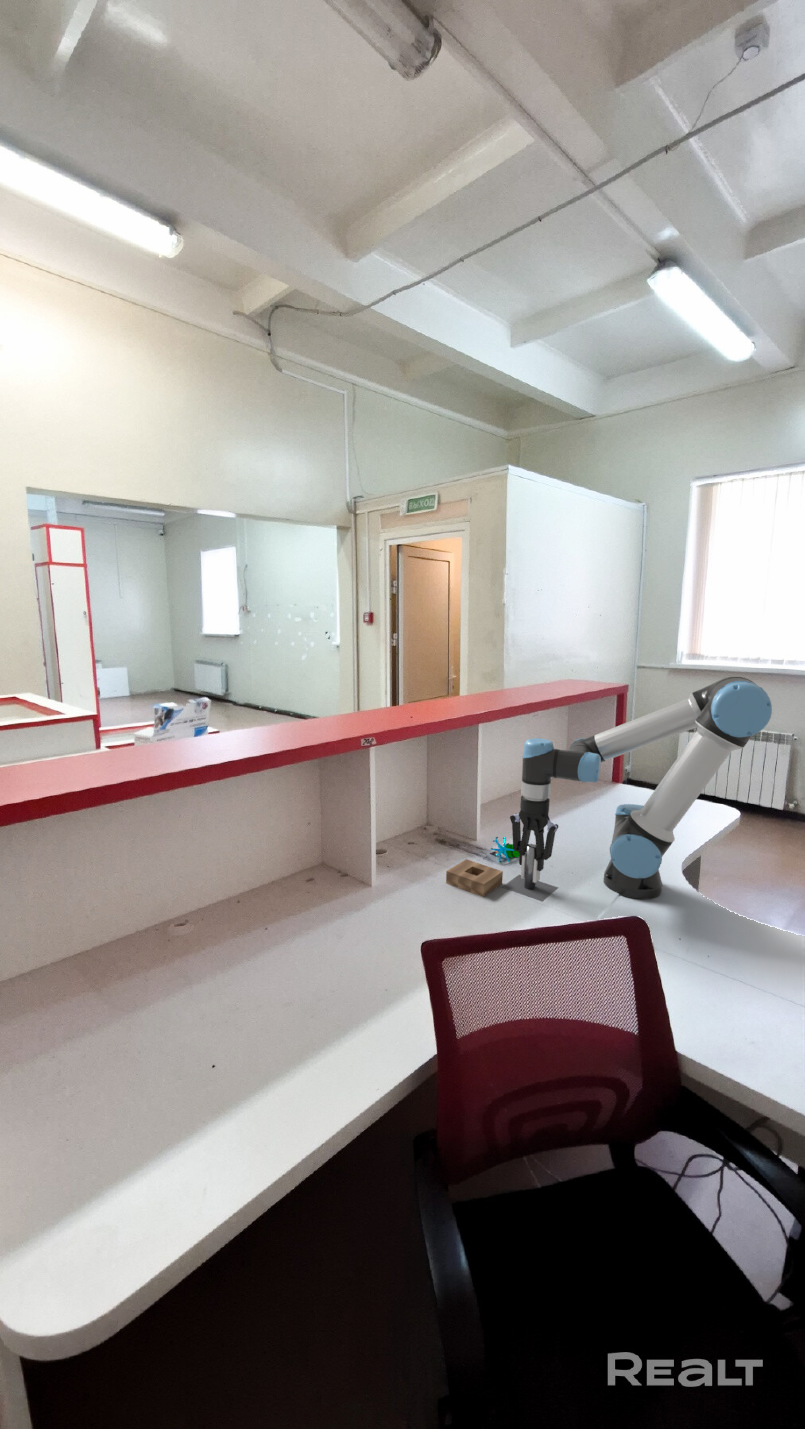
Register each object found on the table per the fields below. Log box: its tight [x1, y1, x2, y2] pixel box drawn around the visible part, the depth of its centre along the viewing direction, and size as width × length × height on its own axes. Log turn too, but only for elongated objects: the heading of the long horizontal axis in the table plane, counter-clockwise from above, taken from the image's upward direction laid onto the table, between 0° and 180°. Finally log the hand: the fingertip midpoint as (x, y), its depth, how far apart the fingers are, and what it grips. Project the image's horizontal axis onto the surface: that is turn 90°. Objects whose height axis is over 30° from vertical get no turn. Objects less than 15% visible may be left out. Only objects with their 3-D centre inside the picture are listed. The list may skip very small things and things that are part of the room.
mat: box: [501, 874, 559, 902], centre depth 160 cm, size 12×10×1 cm
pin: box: [524, 843, 537, 890], centre depth 159 cm, size 3×3×12 cm
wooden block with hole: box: [445, 858, 504, 898], centre depth 162 cm, size 12×10×4 cm
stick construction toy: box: [489, 836, 519, 863], centre depth 180 cm, size 12×7×8 cm
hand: (530, 878), depth 160 cm, fingers closed on pin, 3 cm apart
